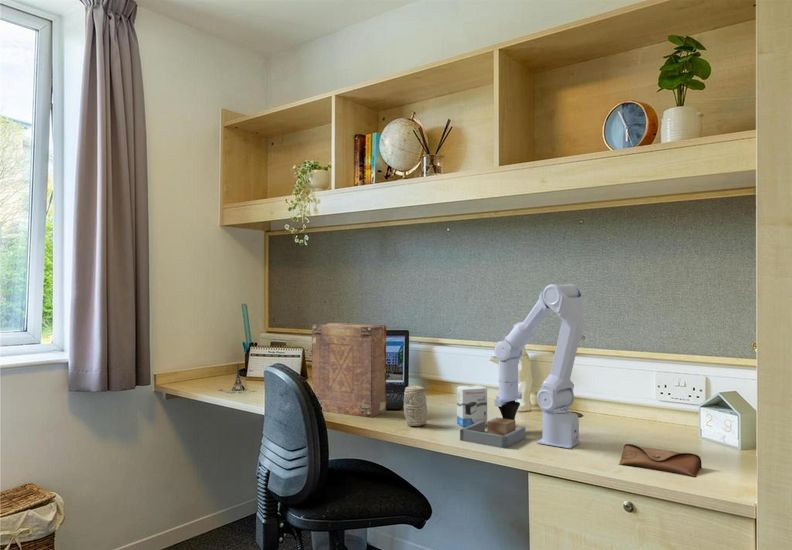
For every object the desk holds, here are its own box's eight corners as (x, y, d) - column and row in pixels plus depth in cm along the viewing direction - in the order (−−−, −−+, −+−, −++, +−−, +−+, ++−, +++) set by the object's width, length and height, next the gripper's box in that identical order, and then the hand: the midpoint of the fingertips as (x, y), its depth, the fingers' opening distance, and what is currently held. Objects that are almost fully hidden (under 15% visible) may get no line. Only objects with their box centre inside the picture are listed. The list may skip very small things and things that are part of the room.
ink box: (462, 427, 181) (462, 389, 181) (456, 423, 186) (456, 386, 186) (488, 425, 183) (487, 387, 184) (481, 421, 188) (481, 385, 188)
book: (311, 409, 208) (311, 324, 208) (327, 404, 215) (327, 322, 216) (371, 417, 195) (371, 326, 195) (386, 412, 203) (386, 325, 203)
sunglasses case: (615, 464, 144) (618, 437, 147) (621, 472, 149) (624, 446, 152) (698, 477, 134) (699, 448, 137) (701, 485, 139) (702, 457, 142)
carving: (407, 422, 188) (407, 384, 188) (430, 424, 186) (430, 385, 186) (400, 426, 182) (400, 387, 183) (423, 428, 180) (423, 389, 180)
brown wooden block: (515, 433, 173) (515, 420, 173) (506, 438, 168) (506, 424, 168) (497, 430, 177) (497, 417, 177) (487, 435, 172) (487, 421, 172)
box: (525, 437, 169) (525, 427, 169) (505, 448, 158) (505, 437, 158) (481, 430, 177) (481, 420, 177) (460, 440, 167) (460, 429, 167)
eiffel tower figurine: (216, 391, 246) (216, 359, 246) (237, 387, 253) (237, 356, 254) (235, 395, 236) (235, 362, 236) (257, 392, 243) (257, 359, 243)
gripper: (506, 376, 184) (507, 420, 184) (485, 383, 173) (485, 429, 173) (528, 378, 180) (528, 423, 180) (507, 385, 169) (507, 433, 168)
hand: (508, 426), depth 176 cm, fingers closed
